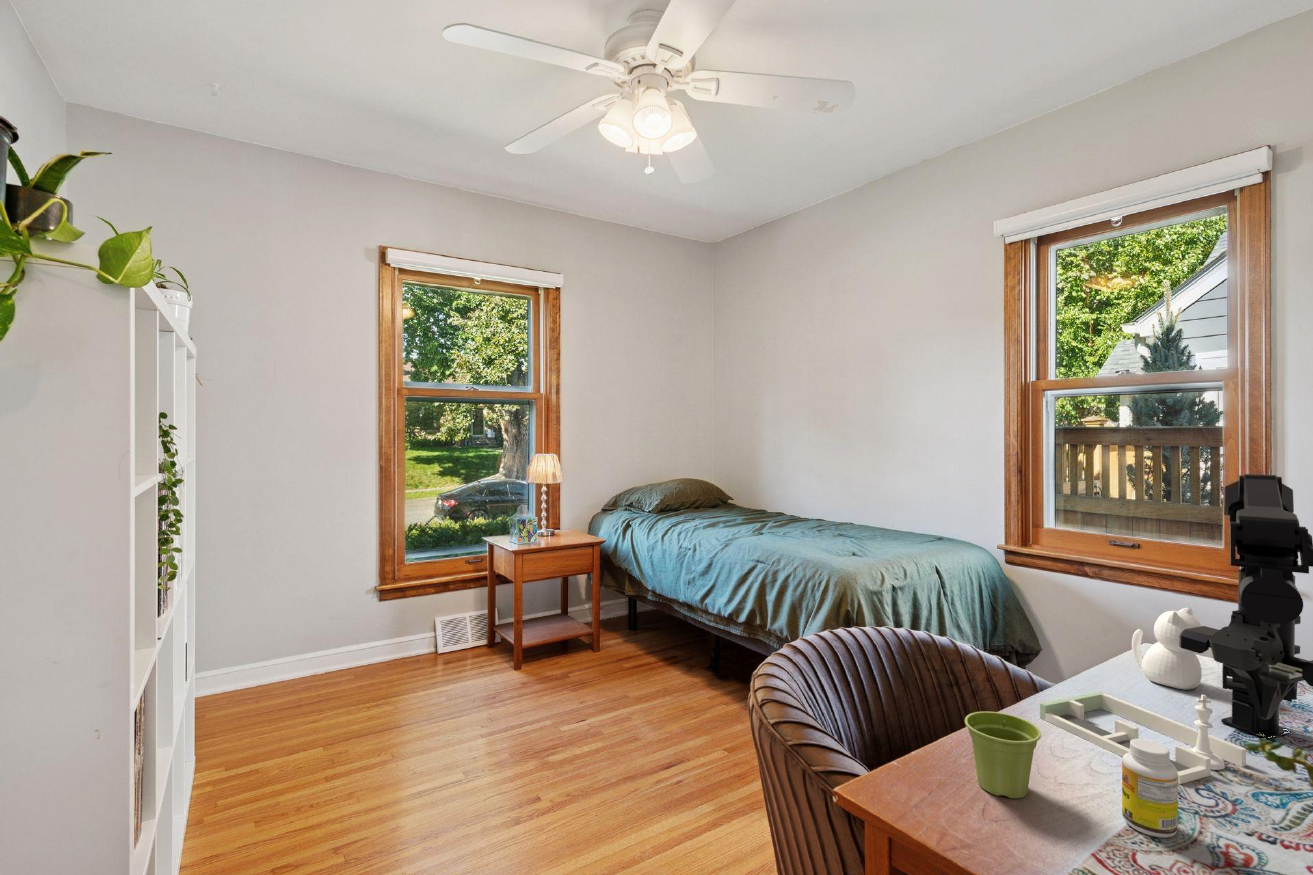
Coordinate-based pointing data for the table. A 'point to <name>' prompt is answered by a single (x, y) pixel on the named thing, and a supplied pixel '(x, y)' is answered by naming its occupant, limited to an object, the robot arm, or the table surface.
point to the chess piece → (1205, 734)
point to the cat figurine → (1169, 652)
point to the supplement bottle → (1150, 789)
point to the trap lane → (1186, 760)
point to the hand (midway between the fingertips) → (1264, 718)
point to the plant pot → (1002, 751)
